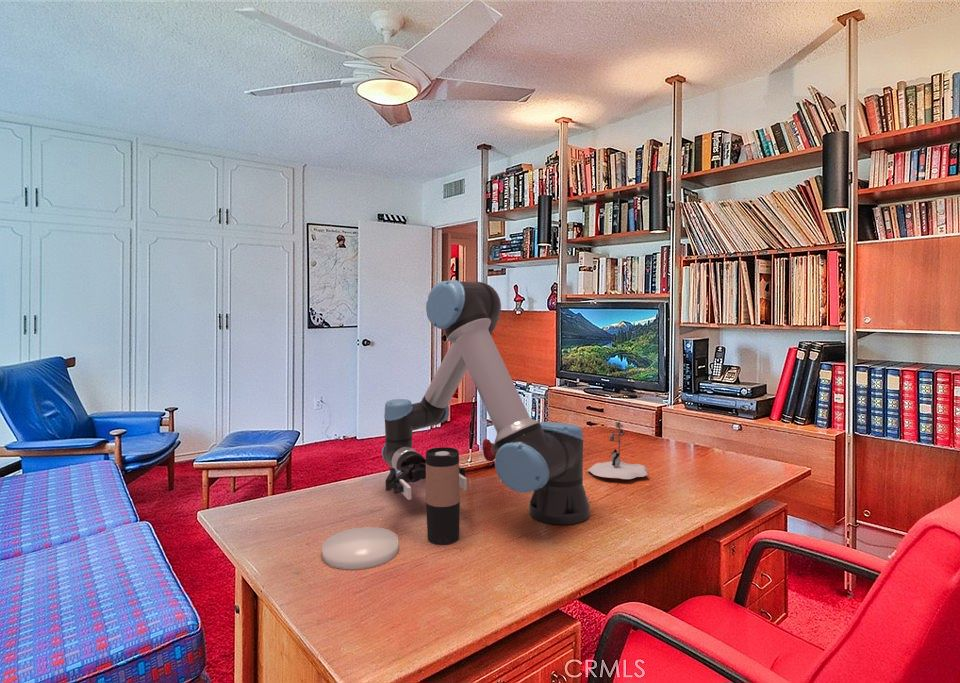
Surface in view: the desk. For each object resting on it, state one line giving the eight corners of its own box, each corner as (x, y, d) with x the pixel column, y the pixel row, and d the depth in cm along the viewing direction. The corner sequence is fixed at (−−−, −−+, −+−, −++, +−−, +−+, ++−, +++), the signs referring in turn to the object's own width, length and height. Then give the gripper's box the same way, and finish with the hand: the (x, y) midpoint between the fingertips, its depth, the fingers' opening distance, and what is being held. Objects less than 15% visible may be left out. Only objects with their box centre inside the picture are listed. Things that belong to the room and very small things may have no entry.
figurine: (641, 485, 152) (642, 428, 153) (580, 476, 161) (581, 423, 162) (656, 473, 170) (656, 422, 170) (600, 466, 179) (601, 417, 179)
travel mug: (426, 531, 124) (425, 447, 123) (459, 530, 124) (458, 446, 123) (426, 546, 116) (424, 456, 115) (461, 544, 117) (460, 455, 116)
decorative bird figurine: (479, 471, 170) (478, 440, 169) (497, 456, 186) (497, 428, 185) (487, 472, 169) (487, 441, 168) (505, 457, 185) (505, 429, 184)
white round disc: (413, 544, 117) (413, 535, 117) (364, 576, 103) (363, 566, 103) (358, 530, 125) (358, 522, 125) (305, 558, 111) (305, 549, 111)
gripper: (453, 472, 146) (487, 496, 127) (362, 485, 135) (385, 514, 116) (453, 445, 145) (487, 465, 126) (362, 456, 135) (384, 480, 115)
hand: (438, 489), depth 121 cm, fingers open, 13 cm apart
